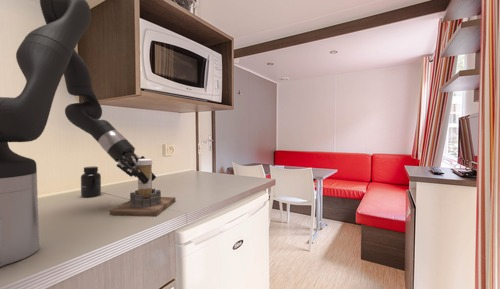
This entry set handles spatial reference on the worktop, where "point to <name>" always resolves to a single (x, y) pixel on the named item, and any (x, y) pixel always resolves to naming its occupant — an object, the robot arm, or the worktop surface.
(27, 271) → the worktop surface
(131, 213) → the collar base
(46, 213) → the worktop surface
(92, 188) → the supplement bottle
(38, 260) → the worktop surface
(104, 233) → the worktop surface
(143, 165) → the sprinkles bottle
